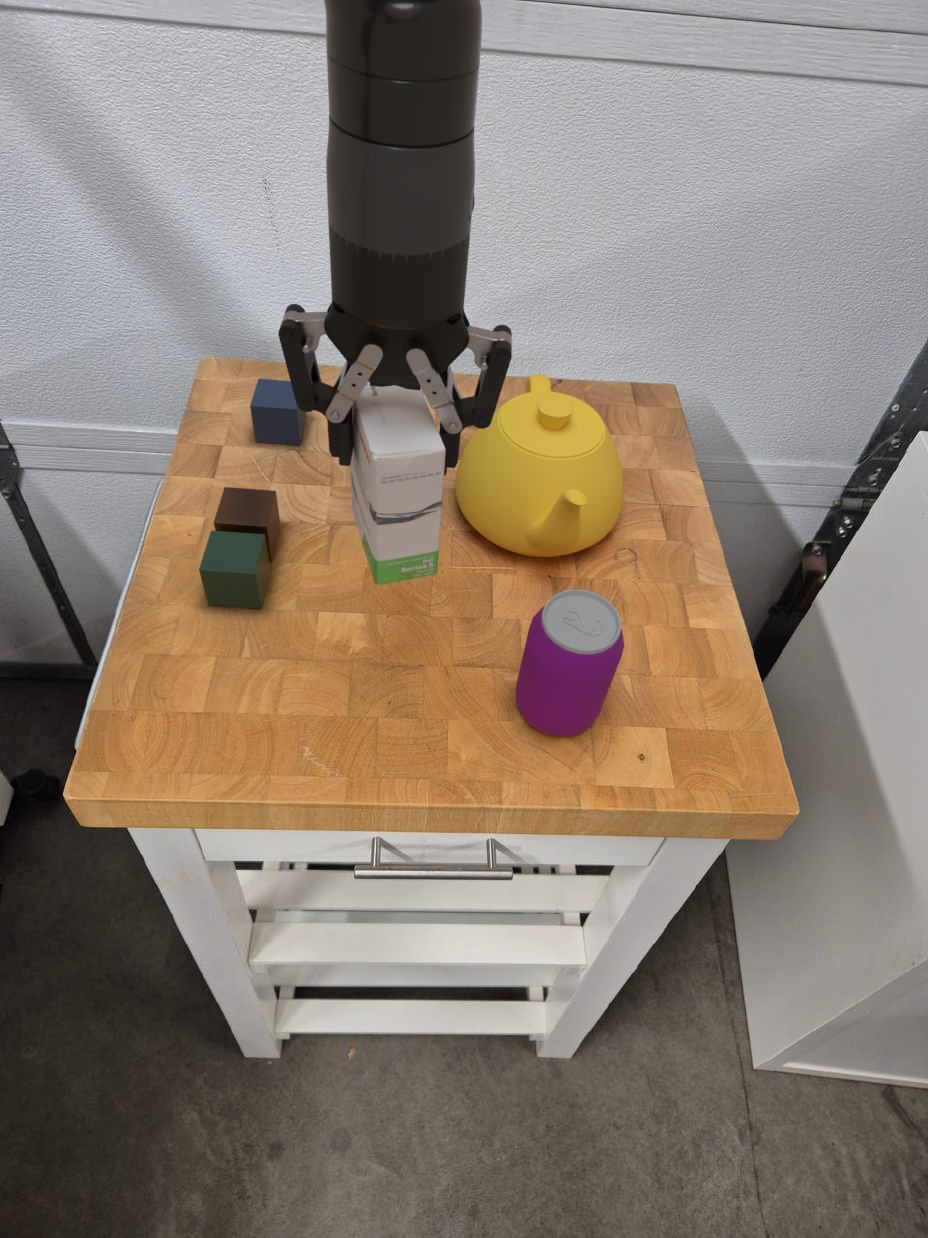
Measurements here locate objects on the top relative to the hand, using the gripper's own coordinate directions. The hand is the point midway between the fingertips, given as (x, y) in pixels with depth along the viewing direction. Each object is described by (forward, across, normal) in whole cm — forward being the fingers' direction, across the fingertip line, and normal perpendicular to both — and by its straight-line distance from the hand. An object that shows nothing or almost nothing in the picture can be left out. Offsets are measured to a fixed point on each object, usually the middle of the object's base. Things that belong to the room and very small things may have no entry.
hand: (394, 461), depth 56 cm
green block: (+23, -15, +8) cm, 29 cm away
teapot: (+23, +14, +21) cm, 34 cm away
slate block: (+23, -16, +32) cm, 42 cm away
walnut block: (+23, -15, +14) cm, 31 cm away
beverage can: (+24, +15, -3) cm, 28 cm away
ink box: (+8, 0, 0) cm, 8 cm away
